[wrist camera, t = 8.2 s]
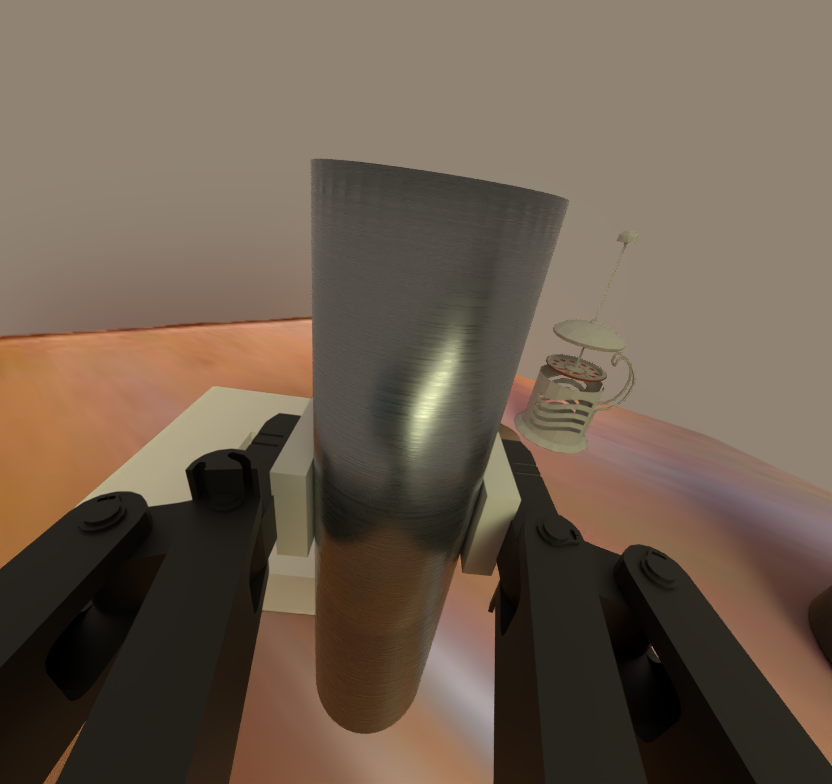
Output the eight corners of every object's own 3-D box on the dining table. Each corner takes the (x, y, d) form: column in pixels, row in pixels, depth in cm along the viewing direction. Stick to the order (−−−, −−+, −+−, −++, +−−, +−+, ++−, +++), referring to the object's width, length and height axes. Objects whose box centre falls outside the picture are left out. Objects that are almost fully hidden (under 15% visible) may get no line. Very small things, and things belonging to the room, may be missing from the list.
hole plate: (393, 438, 40) (396, 409, 38) (370, 620, 23) (376, 583, 21) (218, 416, 39) (213, 385, 37) (52, 590, 21) (27, 549, 20)
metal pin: (421, 613, 15) (527, 201, 7) (421, 737, 12) (623, 202, 4) (330, 605, 15) (341, 173, 7) (301, 729, 11) (264, 144, 4)
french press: (515, 404, 52) (575, 222, 40) (595, 425, 50) (684, 239, 38) (512, 439, 43) (587, 222, 32) (608, 467, 41) (728, 244, 29)
